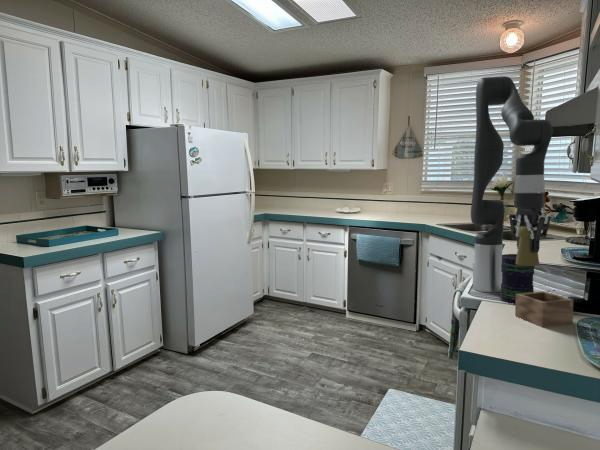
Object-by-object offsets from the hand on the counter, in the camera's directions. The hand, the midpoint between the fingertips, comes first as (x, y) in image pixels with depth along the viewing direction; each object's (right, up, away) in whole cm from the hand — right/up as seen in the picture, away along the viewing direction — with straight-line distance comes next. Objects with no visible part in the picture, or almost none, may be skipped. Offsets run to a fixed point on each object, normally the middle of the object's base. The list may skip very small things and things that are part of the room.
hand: (527, 250), depth 119 cm
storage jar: (+7, -18, +19) cm, 27 cm away
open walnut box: (+4, -20, -1) cm, 20 cm away
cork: (0, -4, 0) cm, 4 cm away
